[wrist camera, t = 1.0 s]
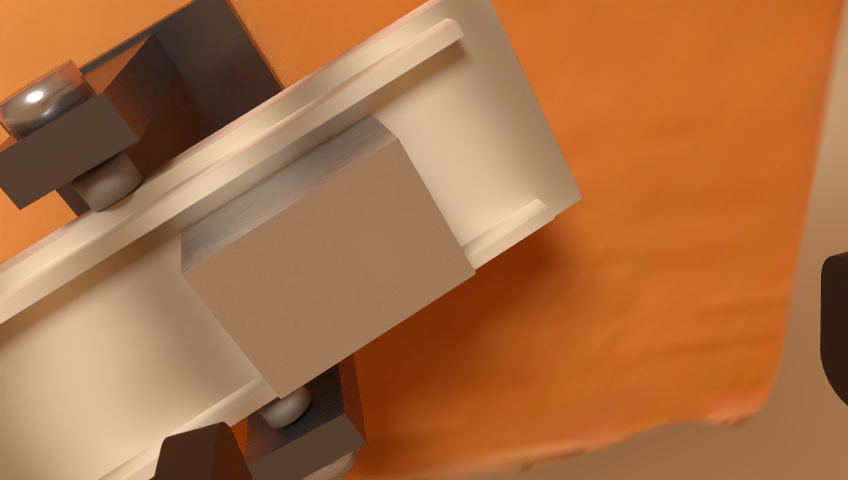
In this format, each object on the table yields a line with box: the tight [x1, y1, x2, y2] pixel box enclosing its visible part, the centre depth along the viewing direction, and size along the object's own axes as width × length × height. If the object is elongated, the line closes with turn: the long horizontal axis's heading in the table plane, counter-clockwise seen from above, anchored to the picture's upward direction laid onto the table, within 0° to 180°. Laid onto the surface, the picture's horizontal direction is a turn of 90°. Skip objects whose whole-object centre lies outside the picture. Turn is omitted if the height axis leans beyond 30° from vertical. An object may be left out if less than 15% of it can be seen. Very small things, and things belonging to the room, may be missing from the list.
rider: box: [181, 113, 476, 399], centre depth 24 cm, size 7×5×4 cm
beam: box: [0, 0, 583, 480], centre depth 25 cm, size 26×11×3 cm, turn 119°
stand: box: [0, 0, 367, 480], centre depth 29 cm, size 10×17×10 cm, turn 28°
